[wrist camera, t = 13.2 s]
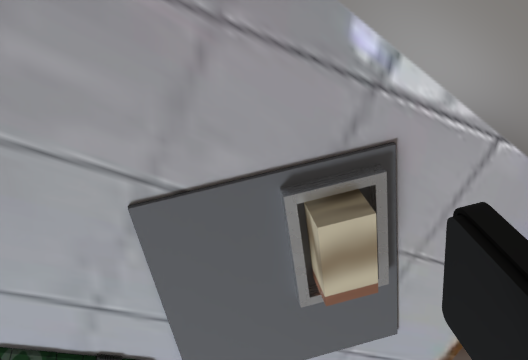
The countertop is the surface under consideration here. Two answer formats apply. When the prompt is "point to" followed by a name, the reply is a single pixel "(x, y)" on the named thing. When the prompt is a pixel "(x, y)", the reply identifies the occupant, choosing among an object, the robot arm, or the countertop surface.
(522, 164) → the countertop surface
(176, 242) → the rubber mat
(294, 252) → the metal frame
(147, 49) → the countertop surface
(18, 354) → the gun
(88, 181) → the countertop surface
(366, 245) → the maple block
